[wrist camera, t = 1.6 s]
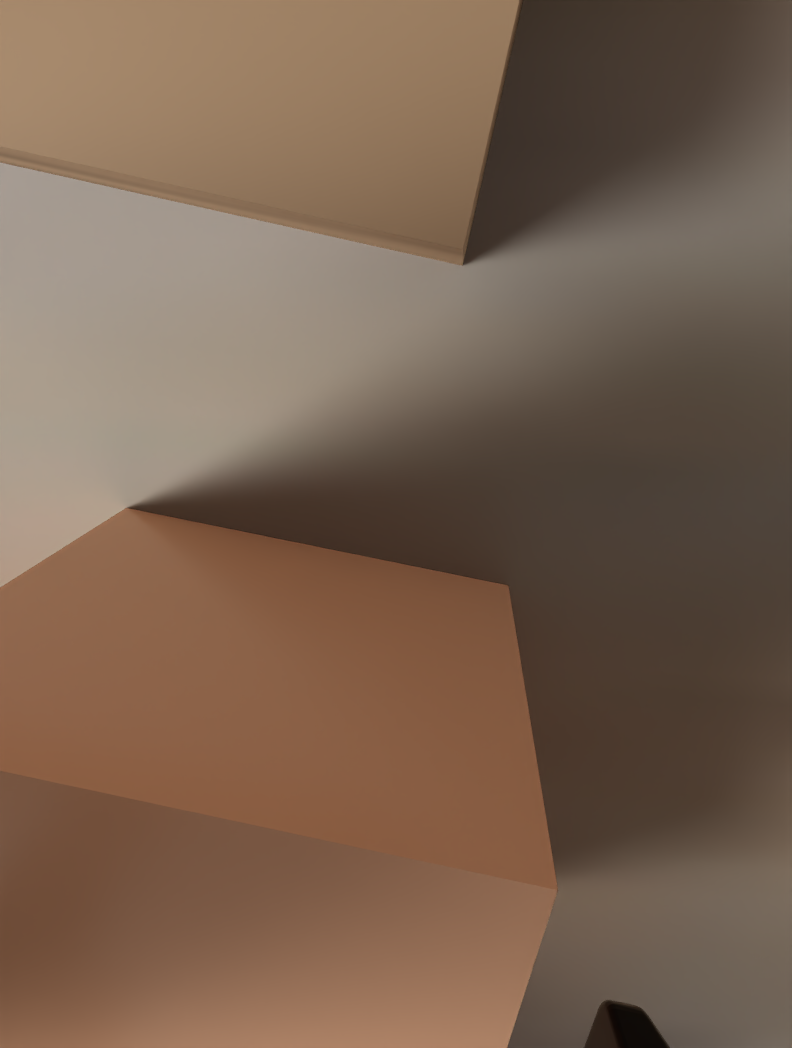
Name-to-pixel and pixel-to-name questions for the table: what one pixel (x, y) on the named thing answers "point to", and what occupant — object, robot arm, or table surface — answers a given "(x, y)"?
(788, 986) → the table surface
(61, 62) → the block
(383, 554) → the table surface
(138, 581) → the cube
